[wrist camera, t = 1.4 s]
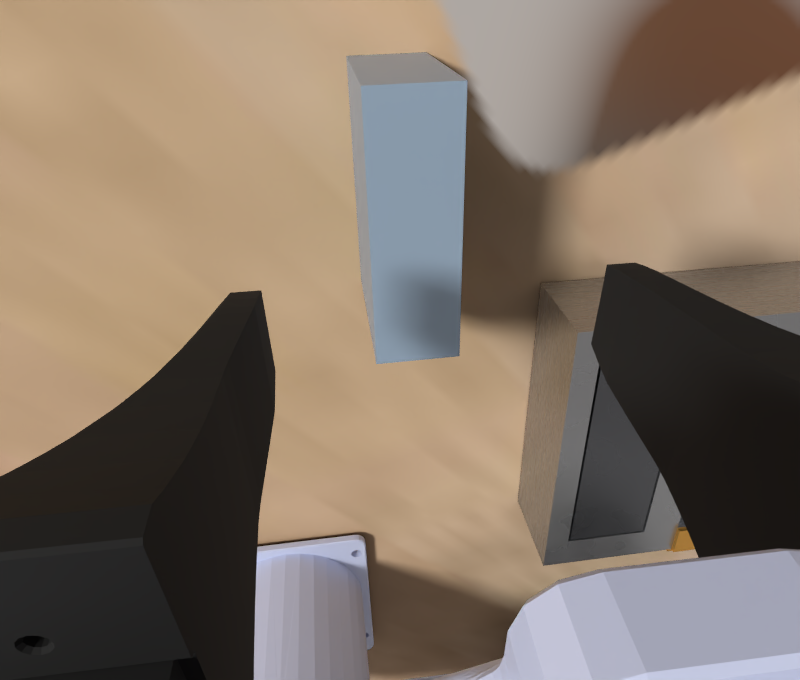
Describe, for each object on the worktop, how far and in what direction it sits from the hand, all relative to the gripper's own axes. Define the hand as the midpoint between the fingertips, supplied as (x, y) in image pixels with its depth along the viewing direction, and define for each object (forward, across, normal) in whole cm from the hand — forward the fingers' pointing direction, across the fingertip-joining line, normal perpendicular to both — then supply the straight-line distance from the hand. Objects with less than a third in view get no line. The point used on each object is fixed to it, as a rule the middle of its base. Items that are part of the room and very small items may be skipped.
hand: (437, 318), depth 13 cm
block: (+11, 0, +1) cm, 11 cm away
